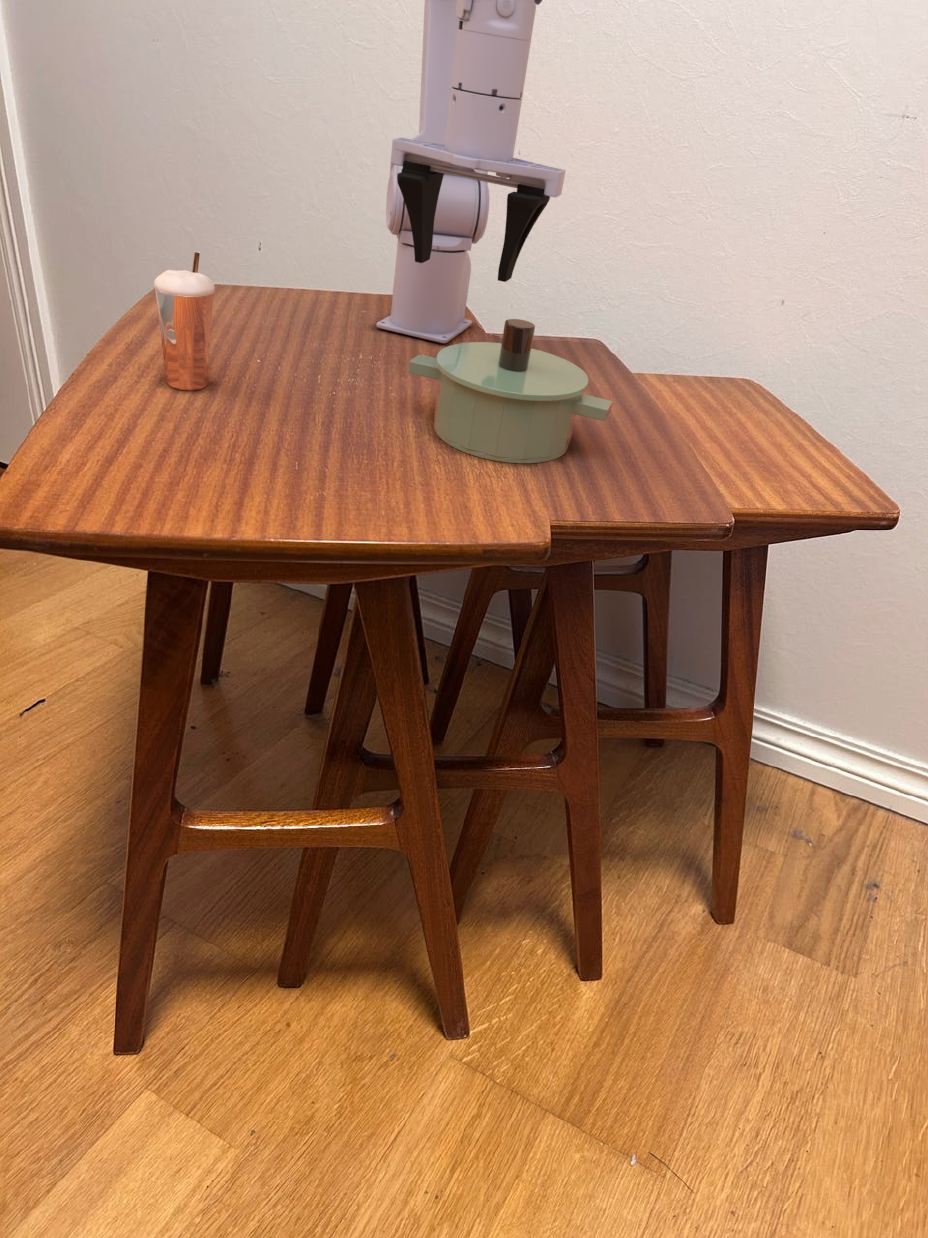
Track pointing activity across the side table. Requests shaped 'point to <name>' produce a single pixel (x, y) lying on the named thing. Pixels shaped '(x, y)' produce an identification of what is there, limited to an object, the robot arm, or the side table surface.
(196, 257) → the milkshake
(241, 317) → the side table surface
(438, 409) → the green cooking pot
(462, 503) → the side table surface
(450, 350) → the pot lid
